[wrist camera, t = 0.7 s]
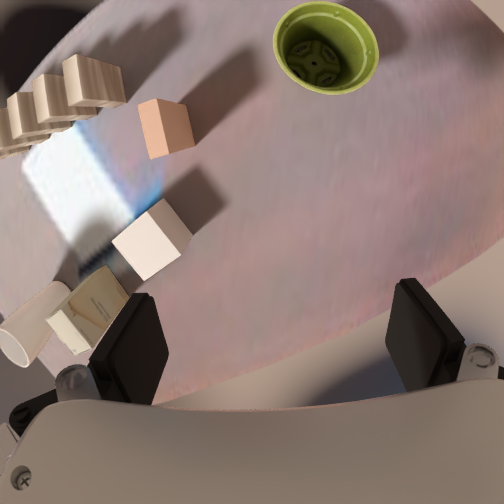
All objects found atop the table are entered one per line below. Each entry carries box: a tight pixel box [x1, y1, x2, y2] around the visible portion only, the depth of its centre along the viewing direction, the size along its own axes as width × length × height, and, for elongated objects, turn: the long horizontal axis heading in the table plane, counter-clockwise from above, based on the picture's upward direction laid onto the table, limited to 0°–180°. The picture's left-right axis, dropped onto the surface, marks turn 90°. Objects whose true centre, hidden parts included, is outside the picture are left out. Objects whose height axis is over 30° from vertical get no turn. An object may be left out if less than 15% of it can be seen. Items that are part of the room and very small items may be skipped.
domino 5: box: [62, 54, 127, 108], centre depth 25 cm, size 2×5×10 cm, turn 11°
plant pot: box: [273, 1, 379, 95], centre depth 24 cm, size 9×9×9 cm
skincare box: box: [45, 265, 129, 356], centre depth 35 cm, size 6×4×12 cm
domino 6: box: [138, 98, 195, 159], centre depth 27 cm, size 2×5×10 cm, turn 11°
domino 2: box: [0, 145, 30, 159], centre depth 27 cm, size 2×5×10 cm, turn 11°
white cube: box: [111, 198, 193, 281], centre depth 34 cm, size 6×6×6 cm
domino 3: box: [7, 92, 72, 139], centre depth 26 cm, size 2×5×10 cm, turn 11°
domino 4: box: [32, 74, 98, 123], centre depth 25 cm, size 2×5×10 cm, turn 12°
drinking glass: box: [0, 281, 71, 367], centre depth 35 cm, size 7×7×15 cm
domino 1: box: [0, 108, 49, 152], centre depth 26 cm, size 2×5×10 cm, turn 11°
